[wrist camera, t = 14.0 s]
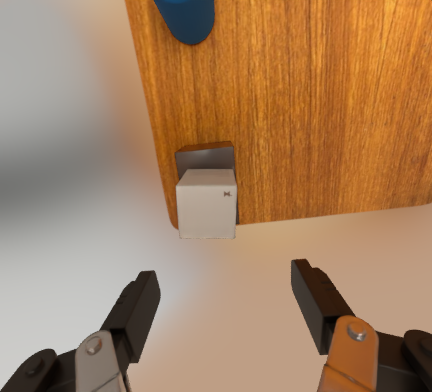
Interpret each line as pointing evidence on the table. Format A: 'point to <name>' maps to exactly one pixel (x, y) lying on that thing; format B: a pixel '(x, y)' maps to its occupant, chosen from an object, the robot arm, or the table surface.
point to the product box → (207, 204)
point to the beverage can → (188, 18)
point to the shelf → (207, 159)
